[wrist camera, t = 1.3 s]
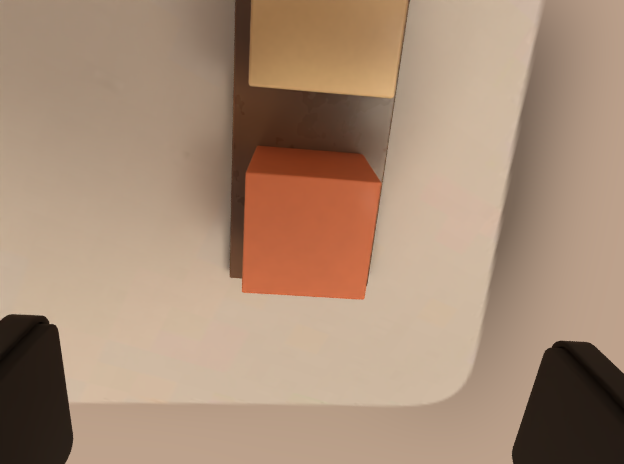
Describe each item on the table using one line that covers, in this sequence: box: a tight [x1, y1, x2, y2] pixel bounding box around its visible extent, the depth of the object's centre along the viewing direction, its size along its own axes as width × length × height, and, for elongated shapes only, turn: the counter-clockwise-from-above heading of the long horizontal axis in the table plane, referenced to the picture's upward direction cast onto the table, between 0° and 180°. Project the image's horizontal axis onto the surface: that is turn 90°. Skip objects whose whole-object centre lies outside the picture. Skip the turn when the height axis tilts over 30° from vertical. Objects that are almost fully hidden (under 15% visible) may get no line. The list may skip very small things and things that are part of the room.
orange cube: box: [242, 146, 381, 299], centre depth 17 cm, size 4×4×4 cm
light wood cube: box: [249, 0, 408, 99], centre depth 15 cm, size 4×4×4 cm
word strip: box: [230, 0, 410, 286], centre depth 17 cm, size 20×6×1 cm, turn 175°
